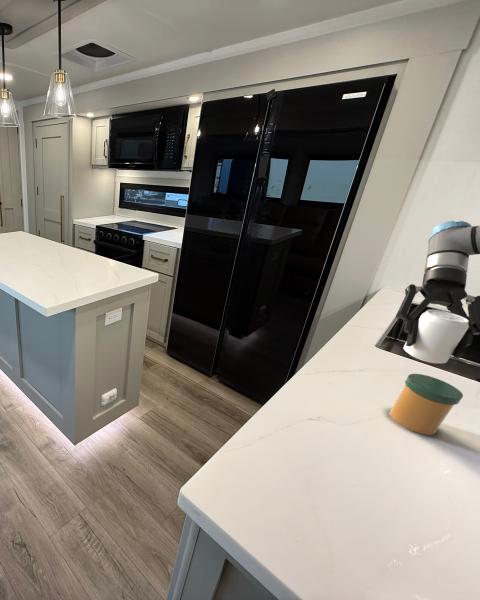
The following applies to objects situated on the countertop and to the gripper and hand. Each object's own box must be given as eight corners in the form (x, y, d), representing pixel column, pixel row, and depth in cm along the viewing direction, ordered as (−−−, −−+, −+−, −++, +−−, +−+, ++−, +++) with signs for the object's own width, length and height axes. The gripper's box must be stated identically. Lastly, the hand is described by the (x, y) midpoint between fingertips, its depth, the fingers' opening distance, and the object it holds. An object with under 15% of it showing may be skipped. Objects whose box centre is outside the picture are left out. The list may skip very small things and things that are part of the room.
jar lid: (450, 389, 72) (454, 383, 72) (466, 411, 66) (470, 404, 65) (400, 375, 77) (403, 369, 76) (410, 394, 70) (414, 387, 69)
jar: (429, 419, 76) (451, 384, 72) (440, 440, 70) (466, 404, 66) (386, 405, 80) (405, 372, 76) (393, 424, 74) (414, 389, 69)
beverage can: (443, 369, 76) (470, 326, 71) (398, 353, 82) (421, 313, 77) (447, 359, 80) (473, 318, 76) (405, 344, 86) (427, 306, 81)
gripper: (492, 289, 81) (485, 369, 75) (387, 272, 91) (373, 341, 85) (515, 275, 75) (509, 361, 69) (399, 258, 85) (386, 332, 79)
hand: (434, 350), depth 77 cm, fingers closed on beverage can, 8 cm apart
